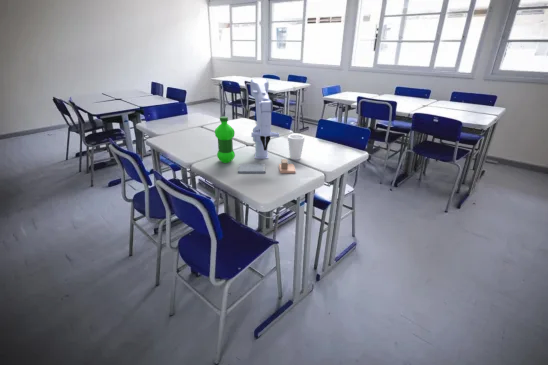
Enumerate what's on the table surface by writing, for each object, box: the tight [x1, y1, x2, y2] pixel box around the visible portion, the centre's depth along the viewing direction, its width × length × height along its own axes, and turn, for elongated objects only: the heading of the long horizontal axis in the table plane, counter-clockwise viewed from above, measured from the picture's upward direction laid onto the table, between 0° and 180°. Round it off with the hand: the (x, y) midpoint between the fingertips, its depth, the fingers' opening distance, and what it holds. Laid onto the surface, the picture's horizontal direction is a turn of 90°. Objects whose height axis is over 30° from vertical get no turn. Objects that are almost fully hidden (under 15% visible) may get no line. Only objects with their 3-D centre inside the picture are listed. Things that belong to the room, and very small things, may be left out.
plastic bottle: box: [214, 116, 236, 164], centre depth 155 cm, size 10×10×25 cm
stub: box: [278, 158, 297, 174], centre depth 150 cm, size 10×8×5 cm
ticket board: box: [237, 163, 266, 174], centre depth 150 cm, size 10×14×1 cm
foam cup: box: [287, 133, 305, 160], centre depth 164 cm, size 10×9×13 cm
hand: (265, 149), depth 151 cm, fingers closed
